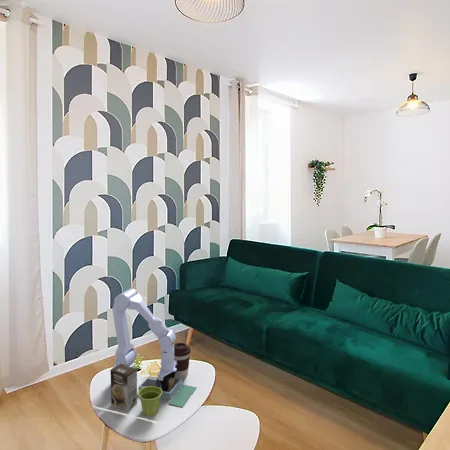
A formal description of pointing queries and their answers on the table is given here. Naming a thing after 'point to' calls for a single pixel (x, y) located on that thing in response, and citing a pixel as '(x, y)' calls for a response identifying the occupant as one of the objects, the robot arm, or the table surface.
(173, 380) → the labelled block
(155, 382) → the plain block
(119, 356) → the robot arm
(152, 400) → the plant pot
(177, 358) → the coffee cup
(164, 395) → the bin
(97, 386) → the table surface
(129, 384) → the coffee box
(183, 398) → the mat
